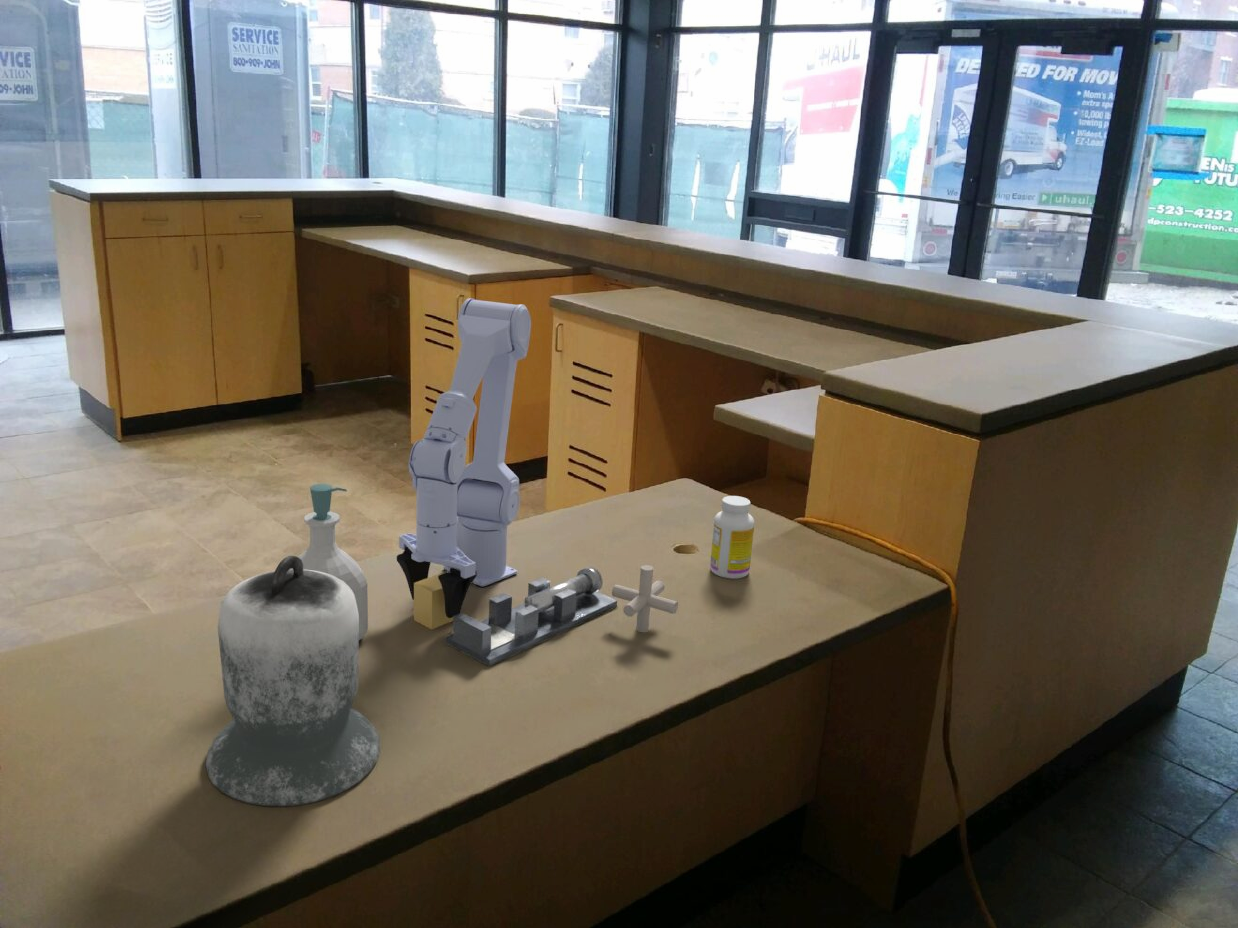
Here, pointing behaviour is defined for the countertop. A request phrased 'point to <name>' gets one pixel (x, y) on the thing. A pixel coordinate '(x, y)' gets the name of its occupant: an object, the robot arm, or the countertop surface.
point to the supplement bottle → (732, 538)
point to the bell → (290, 690)
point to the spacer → (430, 603)
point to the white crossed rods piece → (644, 598)
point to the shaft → (582, 583)
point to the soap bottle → (333, 551)
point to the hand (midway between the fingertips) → (435, 606)
